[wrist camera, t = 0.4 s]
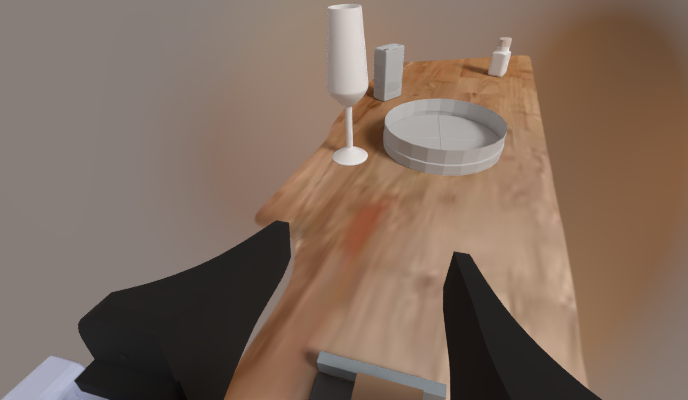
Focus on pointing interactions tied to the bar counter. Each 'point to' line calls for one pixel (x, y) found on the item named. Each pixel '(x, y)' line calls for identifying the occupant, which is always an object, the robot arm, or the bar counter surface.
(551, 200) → the bar counter surface
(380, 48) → the skincare box
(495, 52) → the pepper shaker
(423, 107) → the dish
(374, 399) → the walnut block
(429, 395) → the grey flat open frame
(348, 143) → the champagne flute
